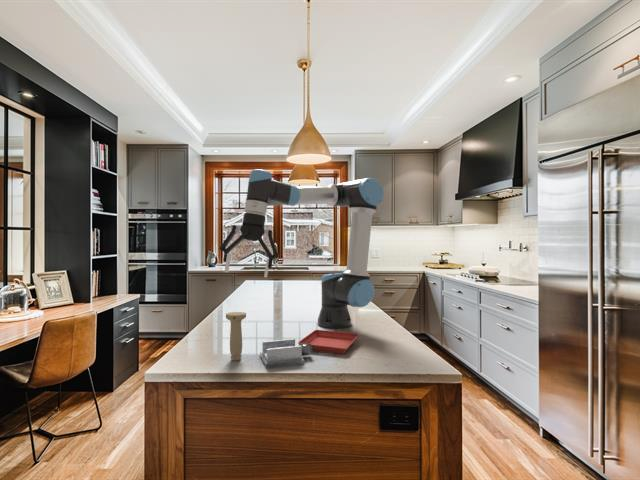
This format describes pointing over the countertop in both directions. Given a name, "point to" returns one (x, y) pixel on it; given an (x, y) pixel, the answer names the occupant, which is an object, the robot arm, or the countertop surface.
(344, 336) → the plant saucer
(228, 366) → the countertop surface
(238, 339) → the handle
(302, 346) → the valve body
